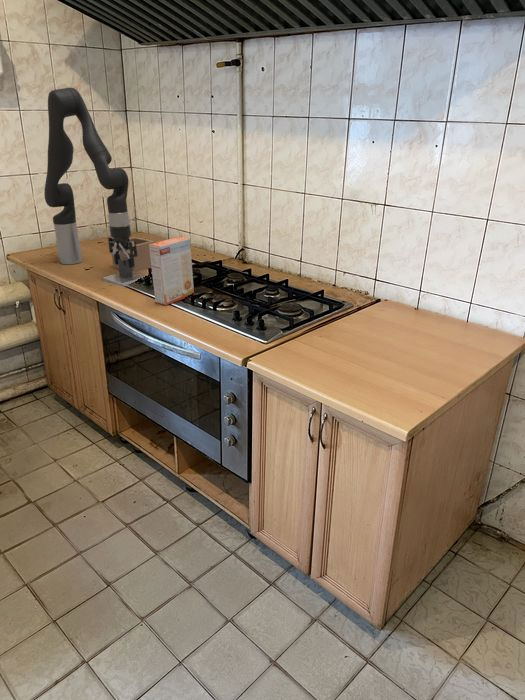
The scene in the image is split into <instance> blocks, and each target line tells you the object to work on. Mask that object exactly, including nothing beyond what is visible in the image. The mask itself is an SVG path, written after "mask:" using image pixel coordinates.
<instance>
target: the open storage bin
mask: <svg viewBox="0 0 525 700" xmlns="http://www.w3.org/2000/svg"><path fill="white" fill-rule="evenodd" d="M129 240H130V241H135V242H136V249H137V255H138V256H137V257H134V264H135V265H134V267H133V268H132V271H134V272H138V273H139V272H141V271H144V270H148V268H149V269H152V268H151V259H150V250H149V244H153V243H156V240H150V239H147V238H146V239H145V238H143V237H137V236H133V237H129ZM112 249H113V246H112ZM128 250H129V248H128ZM119 254H120V259H121V258H128V257H127V255H126V254H124V252H123V251H121V250H120V253H119ZM133 254H134V251H133ZM129 255H130V253H129ZM111 258H112V266H113V268H114V269H117V270H119V266H118V265H117V264H115V261H114V255H113V254H112V253H111Z"/></svg>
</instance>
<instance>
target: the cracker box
mask: <svg viewBox="0 0 525 700" xmlns="http://www.w3.org/2000/svg"><path fill="white" fill-rule="evenodd" d="M149 250H150V259H151V268H150V269H151V275H152V277H151V278H152V283H153V284H152V285H153V292H154V293H153V294H154V302H155V303H157V304H159V305H163V306H168V305H171V304H173V303H176V302H179V301H181V300H184V299H186V298H185V297H187V296H188V295H190V294H192V293H194V294H195V290H194V289H195V287H194V276H193V275H194V274H193V265H192V264H193V263H192V261H193V260H192V249H191V239H190V238H188V237H183V236H176V237H173V238H168V239H165V240H161V241H157V242H155V243H153V244H149ZM187 298H188V297H187Z"/></svg>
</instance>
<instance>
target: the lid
mask: <svg viewBox="0 0 525 700" xmlns="http://www.w3.org/2000/svg"><path fill="white" fill-rule="evenodd" d="M118 266H119V269H118V273H113V274H111V275H107V276H104V277H102V278H103V279H104V280H106V281H109V282H113V283H116V284H119V285H123V286H124V287H126V286H125V285H128V284H131V283H133V282H135V281H137V280H138V279H140V278H143V277H145V276H148V275H147V274H144V273H140V272H139V271H138V272H134V271H132V268H129V265H128V258H121V259H118ZM106 281H105V282H106ZM109 282H108V283H109ZM116 284H115V285H116ZM119 285H118V286H119ZM131 285H132V284H131ZM128 286H129V285H128Z"/></svg>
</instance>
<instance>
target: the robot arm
mask: <svg viewBox="0 0 525 700" xmlns="http://www.w3.org/2000/svg"><path fill="white" fill-rule="evenodd" d="M47 114H48V116H47V117H48V142H47V143H48V144H47V170H46V176H45V182H44V183H45V184H44V200H45V201H44V202H45V203H46V205H47V206H49V207H50V208H61V207H62V208H63V209H62V210H61V211H60V212H59V213H57V214H55V215H54V216H53V217H52V221H53V228H54V234H55V239H56V241H55V243H56V249H57V250H56V251H57V255H58V261H59V262H60V264H62V265H74V264H75V265H76V264H79V263H81V262H82V261H83V258H82V251H81V244H80V239H79V232H78V227H77V226H78V225H77V217H76V216H77V215H76V207H75V196H74V191H73V189H72V188H73V187H72V186H71V185H70V184H69V183H67V182H65V183H60V180H61V178H62V177H63V176H64V175H65V174H66V173H67V171H68V170H69V169H70V168H71V166H72V163H73V160H74V144H73V142H72V140H71V139H70V137H69V136H68V134H67V132H66V131H65V129H64V127H65V126H64V121H65V119H66V118H68V117H69V118H70V117H75V116H76V118H77V120H78V122H79V123H80V124H81V125H80V126H81V129H82V130H81V132H82V134H81V135H82V136H81V137H82V146H83V149H84V151H85V152H86V154H87V156H88V157H89V159H90V160H91V162H92V164H93V167H94V170H95V172H96V176H97V179H98V182H99V184H100V186H102V187H103V188H104V189H106V190H108V191H109V190H113V192H112V194H110V195H109V196H108V197H107V198H106V202H107V203H106V204H107V212H108V223H109V233H110V237H108V240H107V241H108V242H107V243H108V250H109V253H110V254H111V255H112V254H113V255H114V261H115V264H117V265H118V259H120V254H119V253H120V250H121V251H123V252H124V254H126V255H127V257H128V265H129V268H133V267H134V265H135V264H134V257H137V256H138V255H137V249H136V242H135V241H130V240H129V238H131V236H132V231H131V223H130V216H129V212H128V202H127V197H128V192H129V191H128V190H129V183H130V182H129V176H128V173H127V172H126V170H124V169H123V168H121V167H115V168H114V167H113V168H110V167H109V165H110V163H111V162H112V160H113V159H112V155H111V153H110V152H109V150H108V148H107V147H106V146H105V144H104V142H103V140H102V139H101V136H100V135H99V133H98V131H97V129H96V126H95V124H94V121H93V119H92V117H91V114H90V112H89V110H88V108H87V105H86V103H85V101H84V99H83V97H82V95H81V93H80V92H79V91H78V89H76V88H74V87H63V88H58V89H52V90H51V91H50V92H49V93H48V96H47ZM112 246H113V249H112ZM128 248H129V250H128ZM133 251H134V254H133ZM129 253H130V255H129Z"/></svg>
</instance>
